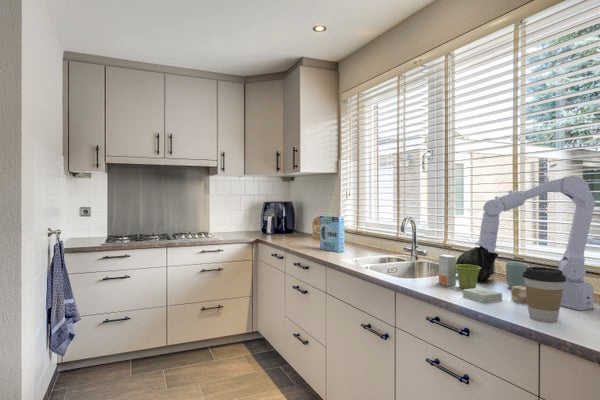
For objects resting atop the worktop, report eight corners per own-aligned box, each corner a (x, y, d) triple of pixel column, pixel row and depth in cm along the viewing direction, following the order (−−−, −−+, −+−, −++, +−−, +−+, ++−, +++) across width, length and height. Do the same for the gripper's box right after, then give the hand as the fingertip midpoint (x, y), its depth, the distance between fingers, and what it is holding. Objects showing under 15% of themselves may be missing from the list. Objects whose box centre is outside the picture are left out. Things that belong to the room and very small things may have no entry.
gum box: (344, 252, 251) (344, 216, 251) (338, 252, 248) (338, 216, 248) (325, 248, 267) (325, 215, 267) (319, 249, 264) (319, 215, 264)
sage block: (501, 301, 139) (501, 293, 139) (483, 304, 135) (483, 295, 135) (480, 295, 147) (480, 287, 147) (463, 297, 143) (463, 289, 143)
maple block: (531, 302, 137) (531, 288, 137) (522, 303, 135) (523, 289, 135) (519, 299, 141) (520, 285, 141) (511, 300, 139) (511, 286, 139)
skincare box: (438, 282, 166) (438, 254, 165) (446, 282, 167) (447, 254, 167) (447, 286, 160) (447, 257, 160) (456, 285, 161) (456, 256, 161)
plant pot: (481, 287, 159) (482, 265, 159) (479, 291, 151) (479, 269, 151) (457, 284, 164) (457, 263, 164) (453, 288, 156) (453, 267, 155)
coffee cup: (548, 313, 124) (549, 266, 124) (575, 325, 113) (576, 273, 113) (513, 313, 124) (514, 266, 124) (536, 325, 113) (537, 273, 112)
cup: (503, 288, 157) (503, 263, 157) (508, 285, 163) (509, 261, 163) (524, 291, 152) (525, 266, 152) (529, 288, 157) (530, 263, 157)
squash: (470, 262, 186) (460, 240, 179) (502, 268, 174) (492, 245, 167) (457, 284, 180) (446, 263, 173) (489, 292, 168) (478, 269, 161)
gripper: (473, 228, 151) (468, 262, 152) (482, 233, 137) (476, 270, 138) (492, 231, 150) (487, 265, 151) (503, 235, 136) (498, 274, 136)
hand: (483, 268), depth 144 cm, fingers open, 7 cm apart
